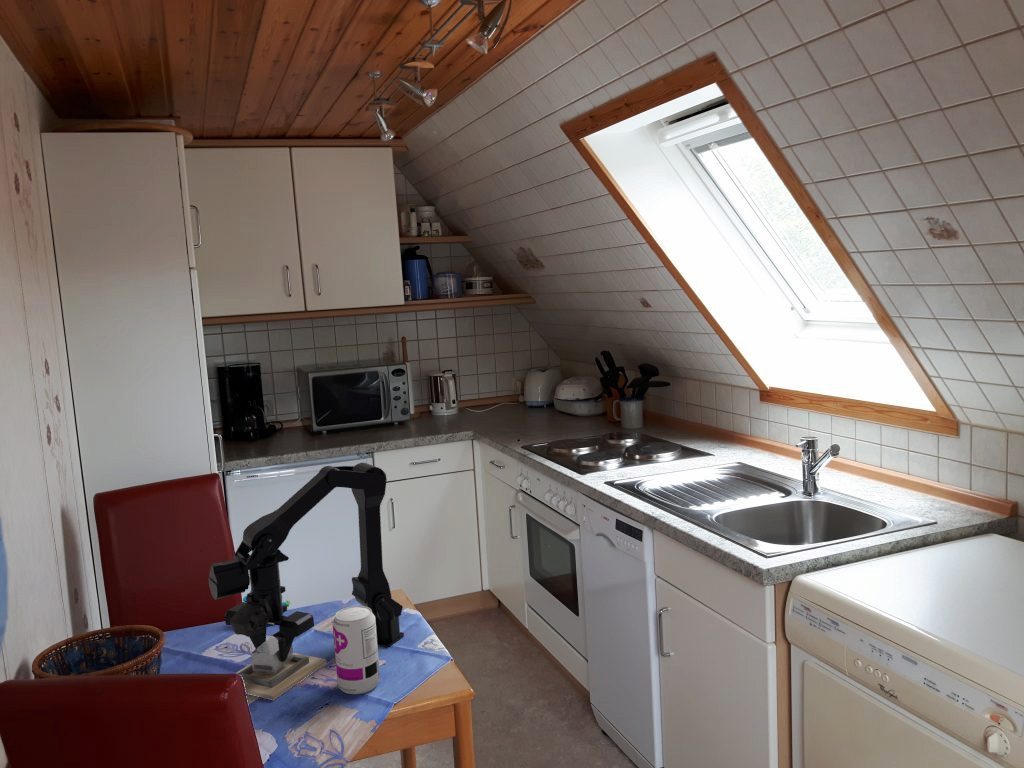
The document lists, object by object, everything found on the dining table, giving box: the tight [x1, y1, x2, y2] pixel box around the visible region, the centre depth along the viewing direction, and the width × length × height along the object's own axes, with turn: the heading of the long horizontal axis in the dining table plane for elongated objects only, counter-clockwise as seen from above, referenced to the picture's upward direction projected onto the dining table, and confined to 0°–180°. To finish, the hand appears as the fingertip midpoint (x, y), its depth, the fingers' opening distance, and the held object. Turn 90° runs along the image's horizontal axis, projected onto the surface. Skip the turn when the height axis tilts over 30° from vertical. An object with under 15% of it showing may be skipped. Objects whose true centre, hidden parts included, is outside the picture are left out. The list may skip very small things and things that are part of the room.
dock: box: [236, 652, 327, 700], centre depth 169 cm, size 14×16×2 cm
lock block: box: [250, 637, 294, 674], centre depth 169 cm, size 5×7×4 cm
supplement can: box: [332, 605, 381, 695], centre depth 162 cm, size 8×8×15 cm
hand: (272, 658), depth 169 cm, fingers closed on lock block, 5 cm apart
